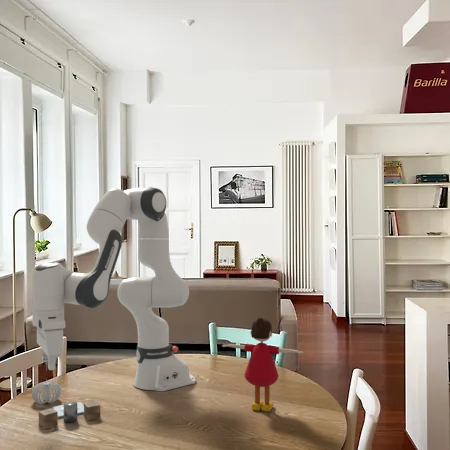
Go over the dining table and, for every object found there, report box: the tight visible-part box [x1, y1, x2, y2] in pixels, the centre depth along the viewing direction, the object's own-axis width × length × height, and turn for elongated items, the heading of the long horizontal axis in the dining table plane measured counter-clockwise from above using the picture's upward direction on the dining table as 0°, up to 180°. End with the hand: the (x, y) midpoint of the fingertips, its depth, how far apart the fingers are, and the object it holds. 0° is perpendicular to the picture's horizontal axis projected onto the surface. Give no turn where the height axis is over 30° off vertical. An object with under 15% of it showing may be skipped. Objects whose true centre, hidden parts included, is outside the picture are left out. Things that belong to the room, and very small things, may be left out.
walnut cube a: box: [83, 400, 101, 421], centre depth 163 cm, size 4×4×4 cm
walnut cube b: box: [38, 407, 59, 430], centre depth 157 cm, size 4×4×4 cm
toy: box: [221, 317, 304, 413], centre depth 168 cm, size 27×11×30 cm, turn 71°
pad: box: [51, 401, 84, 419], centre depth 168 cm, size 9×9×1 cm
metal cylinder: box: [63, 401, 78, 424], centre depth 160 cm, size 4×4×5 cm
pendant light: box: [30, 380, 62, 405], centre depth 176 cm, size 9×9×30 cm
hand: (48, 365), depth 156 cm, fingers open, 8 cm apart
